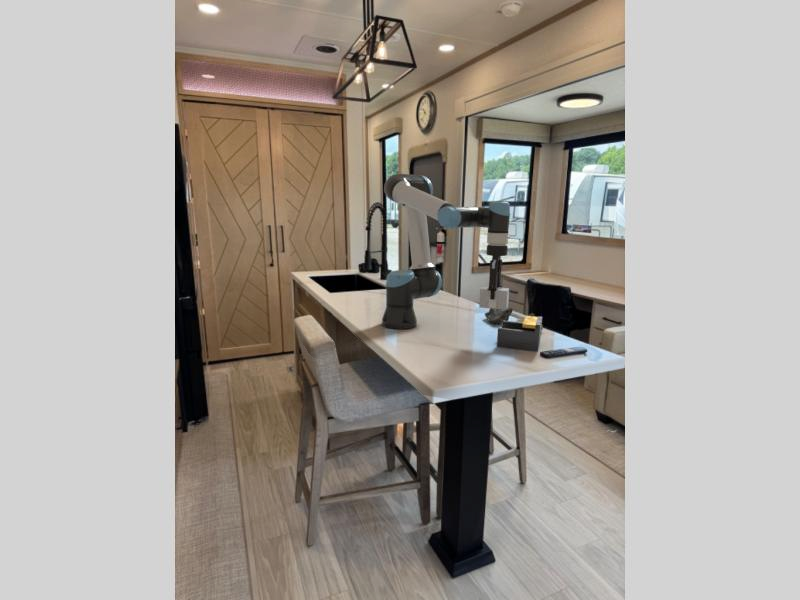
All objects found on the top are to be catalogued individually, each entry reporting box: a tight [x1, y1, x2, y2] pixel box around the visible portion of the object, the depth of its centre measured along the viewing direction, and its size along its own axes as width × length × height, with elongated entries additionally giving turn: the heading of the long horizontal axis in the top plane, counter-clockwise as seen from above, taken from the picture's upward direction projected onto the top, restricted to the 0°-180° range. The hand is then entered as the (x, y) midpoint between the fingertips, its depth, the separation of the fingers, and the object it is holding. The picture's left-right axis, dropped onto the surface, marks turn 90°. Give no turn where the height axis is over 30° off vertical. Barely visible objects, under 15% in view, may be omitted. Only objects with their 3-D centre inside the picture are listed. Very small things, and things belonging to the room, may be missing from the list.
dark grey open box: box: [496, 315, 543, 353], centre depth 165 cm, size 15×13×10 cm
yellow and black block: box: [515, 312, 544, 332], centre depth 184 cm, size 10×11×10 cm
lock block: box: [478, 286, 510, 310], centre depth 166 cm, size 10×6×7 cm, turn 71°
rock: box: [484, 307, 513, 326], centre depth 199 cm, size 13×13×10 cm
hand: (493, 305), depth 166 cm, fingers closed on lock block, 6 cm apart
